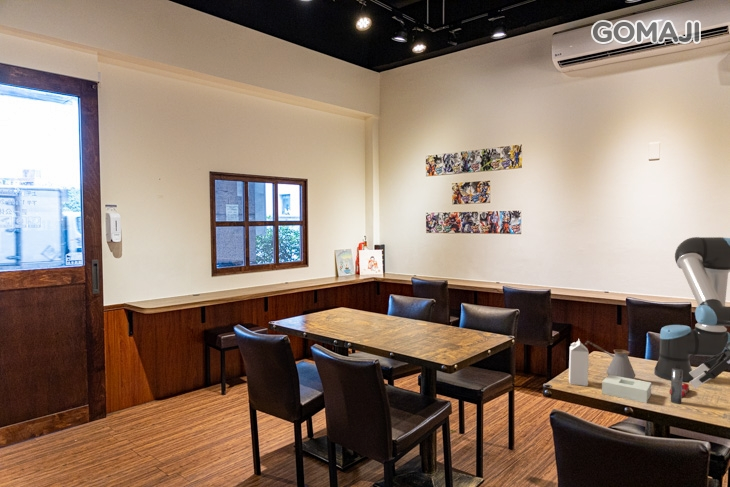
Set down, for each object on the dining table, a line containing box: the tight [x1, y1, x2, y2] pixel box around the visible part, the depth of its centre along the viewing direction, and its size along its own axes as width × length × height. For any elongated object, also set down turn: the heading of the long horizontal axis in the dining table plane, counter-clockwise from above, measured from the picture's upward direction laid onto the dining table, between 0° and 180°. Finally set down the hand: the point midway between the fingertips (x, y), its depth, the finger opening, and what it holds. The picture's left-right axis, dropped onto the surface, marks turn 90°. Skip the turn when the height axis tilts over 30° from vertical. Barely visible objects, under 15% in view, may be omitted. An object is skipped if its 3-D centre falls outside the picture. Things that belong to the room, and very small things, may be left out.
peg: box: [670, 368, 683, 405], centre depth 187 cm, size 4×4×13 cm
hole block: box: [601, 374, 652, 404], centre depth 196 cm, size 16×12×5 cm
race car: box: [669, 382, 690, 398], centre depth 198 cm, size 13×5×4 cm, turn 134°
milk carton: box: [568, 338, 590, 387], centre depth 209 cm, size 7×7×19 cm
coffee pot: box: [584, 340, 636, 379], centre depth 217 cm, size 21×12×15 cm, turn 45°
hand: (691, 380), depth 183 cm, fingers open, 13 cm apart
